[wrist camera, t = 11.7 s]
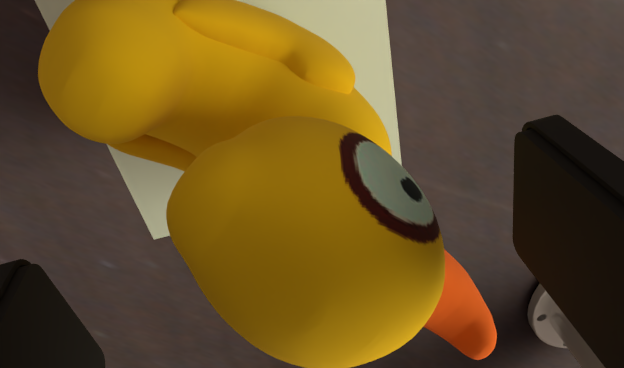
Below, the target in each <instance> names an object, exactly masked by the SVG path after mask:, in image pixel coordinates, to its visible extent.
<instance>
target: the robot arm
mask: <svg viewBox="0 0 624 368" xmlns="http://www.w3.org/2000/svg"><path fill="white" fill-rule="evenodd" d="M513 243H514V247H515V249H516V251H517V254H518V255H519V257H520V258H521V259H522V261H523V262H524V263H525V264H526V266H527V267H528V268H529V270H530V271H531V272H532V273H533V275H534V276H535V277H536V279H537V280H538V281H539V283H540V284H539V285H538V287H537V288H536V290H535V292H534V293H533V295H532V298H531V300H530V303H529V306H528V314H527V315H528V322H529V324H530V326H531V328H532V330H533V331H534V333H535V334H536V335H537V336H538V338H539V339H540V340H542V341H543V342H544V343H546V344H548V345H551V346H554V347H560V348H568V349H569V351H570V352H571V353H572V355H573V356H574V357H575V359H576V360H577V361H578V363H579V364H580V366H581V367H582V368H624V161H622V160H621V159H620V158H618V157H617V156H615V155H614V154H613V153H611V152H610V151H609V150H607V149H606V148H604V147H603V146H602V145H600V144H599V143H597V142H596V141H595V140H593V139H592V138H590V137H589V136H588V135H586V134H585V133H584V132H582V131H581V130H579V129H578V128H577V127H575V126H574V125H572V124H571V123H570V122H568V121H567V120H565V119H564V118H563V117H561V116H559V115H552V116H549V117H545V118H541V119H538V120H534V121H530V122H527V123H526V124H524V126H523V128H522V132H519V133H517V134H516V136H515V145H514V197H513ZM0 368H105V358H104V354H103V352H102V350H101V348H100V347H99V346H98V344H97V343H96V341H95V340H94V339H93V337H92V336H91V335H90V333H89V332H88V331H87V329H86V328H85V326H84V325H83V324H82V322H81V321H80V320H79V318H78V317H77V316H76V314H75V313H74V311H73V310H72V309H71V307H70V306H69V305H68V303H67V302H66V300H65V299H64V298H63V296H62V295H61V294H60V292H59V291H58V290H57V288H56V287H55V285H54V284H53V283H52V281H51V280H50V279H49V277H48V276H47V274H46V273H45V272H44V270H43V269H42V268H41V267H40V266H39V265H37V264H31V263H30V262H28V261H27V260H24V259H20V260H16V261H12V262H8V263H5V264H1V265H0Z"/></svg>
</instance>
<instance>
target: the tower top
mask: <svg viewBox="0 0 624 368" xmlns="http://www.w3.org/2000/svg"><path fill="white" fill-rule="evenodd" d="M73 1H75V0H35V2H36V4H37V6H38V8H39V10H40V12H41V14H42V16H43V18H44V20H45V22H46V24H47V26H48V28H49V30H51V29H52V27H53V25H54V23H55V22H56V20H57V19H58V17H59V16H60V14H61V13H62V12H63V11H64V9H65V8H66V7H67V6H69V5H70V4H71V3H72V2H73ZM237 1H240V2H243V3H246V4H249V5H252V6H255V7H258V8H261V9H264V10H266V11H269V12H272V13H274V14H277V15H279V16H282V17H284V18H286V19H288V20H290V21H292V22H293V23H295V24H297V25H299V26H301V27H303V28H305V29H307V30H309V31H310V32H312V33H314V34H316V35H318V36H319V37H321V38H323V39H324V40H326V41H327V42H328V43H330V44H331V45H332V46H334V47H335V48H336V49H337V50H338V51H339V52H340V53H341V54H342V55H343V56H344V57H345V58H346V59H347V60H348V61H349V63H350V64H351V66H352V68H353V70H354V73H355V78H356V79H355V85H354V88H355V89H356V90H357V91H358V92H359V93H360V94H361V95H362V96H363V97H364V98H365V99H366V100H367V101H368V103H369V104H370V105H371V106H372V107H373V109H374V110H375V111H376V113H377V114H378V116H379V117H380V119H381V121H382V122H383V124H384V126H385V129H386V131H387V134H388V137H389V140H390V144H391V151H392V157H393V158H394V159H395V160H396V161H397V162H398V163H399V164H400V165H401V154H400V144H399V134H398V124H397V114H396V103H395V93H394V83H393V73H392V63H391V53H390V42H389V32H388V22H387V12H386V2H385V0H237ZM107 146H108V148H109V150H110V152H111V154H112V156H113V158H114V160H115V163H116V165H117V167H118V169H119V171H120V173H121V175H122V177H123V179H124V181H125V183H126V185H127V187H128V189H129V191H130V193H131V195H132V197H133V199H134V201H135V203H136V205H137V207H138V209H139V211H140V213H141V215H142V217H143V219H144V221H145V223H146V225H147V227H148V229H149V231H150V233H151V235H152V237H153V239H158V238H162V237H166V236H169V235H170V233H169V230H168V226H167V220H166V209H167V203H168V200H169V198H170V196H171V193H172V191H173V189H174V187H175V185H176V183H177V182H178V180H179V179H180V177H181V176H182V174H183V173H184V171H182V170H179V169H177V168H174V167H171V166H167V165H164V164H160V163H157V162H153V161H150V160H146V159H142V158H138V157H135V156H132V155H128V154H126V153H123V152H121V151H119V150H116V149H114V148H113V147H111V146H109V145H108V144H107ZM401 166H402V165H401Z"/></svg>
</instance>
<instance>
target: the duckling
mask: <svg viewBox="0 0 624 368" xmlns="http://www.w3.org/2000/svg"><path fill="white" fill-rule="evenodd" d="M38 79H39V83H40V88H41V90H42V93H43V95H44V97H45V99H46V101H47V103H48V104H49V106H50V108H51V109H52V110H53V112H54V113H55V114H56V115H57V117H58V118H59V119H60V120H61V121H62V122H63V123H64V124H65V125H66V126H67V127H68V128H69V129H71V130H72V131H74V132H75V133H77V134H79V135H80V136H83V137H85V138H87V139H90V140H92V141H96V142H100V143H106V144H108V145H109V146H111V147H113V148H114V149H116V150H119V151H121V152H123V153H126V154H128V155H132V156H135V157H138V158H142V159H146V160H150V161H153V162H157V163H160V164H164V165H167V166H171V167H174V168H177V169H179V170H182V171H184V173H183V174H182V176H181V177H180V179H179V180H178V182H177V183H176V185H175V187H174V189H173V191H172V193H171V196H170V198H169V200H168V203H167V209H166V220H167V226H168V230H169V233H170V236H171V239H172V241H173V243H174V245H175V246H176V248H177V250H178V251H179V253H180V254H181V256H182V257H183V259H184V261H185V262H186V264H187V265H188V267H189V269H190V271H191V272H192V274H193V276H194V278H195V280H196V282H197V283H198V285H199V287H200V289H201V290H202V292H203V293H204V295H205V296H206V298H207V299H208V301H209V302H210V303H211V305H212V306H213V307H214V309H215V310H216V311H217V312H218V313H219V315H220V316H221V317H222V318H223V319H224V320H225V321H226V322H227V323H228V324H229V325H230V326H231V327H232V328H233V329H234V330H235V331H236V332H237V333H239V334H240V335H241V336H242V337H243V338H245V339H246V340H247V341H248V342H250V343H251V344H252V345H254V346H255V347H257V348H258V349H260V350H262V351H263V352H265V353H267V354H269V355H271V356H273V357H275V358H277V359H279V360H282V361H284V362H287V363H290V364H293V365H297V366H301V367H306V368H350V367H354V366H358V365H362V364H365V363H368V362H371V361H373V360H376V359H378V358H381V357H383V356H385V355H387V354H389V353H391V352H393V351H395V350H396V349H398V348H400V347H401V346H403V345H404V344H405V343H407V342H408V341H409V340H411V339H412V338H413V337H414V336H415V335H416V334H417V333H418V332H419V331H420V329H421V328H422V327H425V328H427V329H429V330H430V331H432V332H434V333H435V334H437V335H439V336H440V337H442V338H443V339H445V340H446V341H448V342H449V343H450V344H452V345H453V346H454V347H456V348H457V349H458V350H459V351H460V352H462V353H463V354H464V355H466V356H468V357H470V358H472V359H475V360H480V359H483V358H485V357H487V356H489V355H490V354H491V352H492V351H493V350H494V348H495V345H496V340H497V332H496V328H495V325H494V321H493V318H492V315H491V313H490V311H489V309H488V307H487V305H486V304H485V302H484V300H483V298H482V296H481V295H480V293H479V291H478V289H477V288H476V286H475V284H474V283H473V281H472V280H471V278H470V277H469V275H468V273H467V272H466V271H465V269H464V268H463V267H462V266H461V265H460V264H459V263H458V262H457V261H456V260H455V259H454V258H453V257H452V256H451V255H450V254H449V253H448V252H447V251H446V250H445V249H444V246H443V240H442V236H441V232H440V229H439V226H438V222H437V220H436V217H435V214H434V212H433V210H432V208H431V206H430V204H429V202H428V200H427V198H426V197H425V195H424V194H423V192H422V190H421V189H420V188H419V186H418V185H417V183H416V182H415V181H414V179H413V178H412V177H411V176H410V174H409V173H408V172H407V171H406V170H405V169H404V168H403V167H402V166H401V165H400V164H399V163H398V162H397V161H396V160H395V159H394V158H393V157H392V151H391V144H390V140H389V137H388V134H387V131H386V129H385V126H384V124H383V122H382V121H381V119H380V117H379V116H378V114H377V113H376V111H375V110H374V109H373V107H372V106H371V105H370V104H369V103H368V101H367V100H366V99H365V98H364V97H363V96H362V95H361V94H360V93H359V92H358V91H357V90H356V89H355V88H354V85H355V79H356V78H355V73H354V70H353V68H352V66H351V64H350V63H349V61H348V60H347V59H346V58H345V57H344V56H343V55H342V54H341V53H340V52H339V51H338V50H337V49H336V48H335V47H334V46H332V45H331V44H330V43H328V42H327V41H326V40H324V39H323V38H321V37H319V36H318V35H316V34H314V33H312V32H310V31H309V30H307V29H305V28H303V27H301V26H299V25H297V24H295V23H293V22H292V21H290V20H288V19H286V18H284V17H282V16H279V15H277V14H274V13H272V12H269V11H266V10H264V9H261V8H258V7H255V6H252V5H249V4H246V3H243V2H240V1H237V0H75V1H73V2H72V3H71V4H70V5H69V6H67V7H66V8H65V9H64V11H63V12H62V13H61V14H60V16H59V17H58V19H57V20H56V22H55V23H54V25H53V27H52V29H51V30H50V32H49V34H48V35H47V37H46V39H45V41H44V44H43V47H42V50H41V54H40V58H39V66H38Z"/></svg>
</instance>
